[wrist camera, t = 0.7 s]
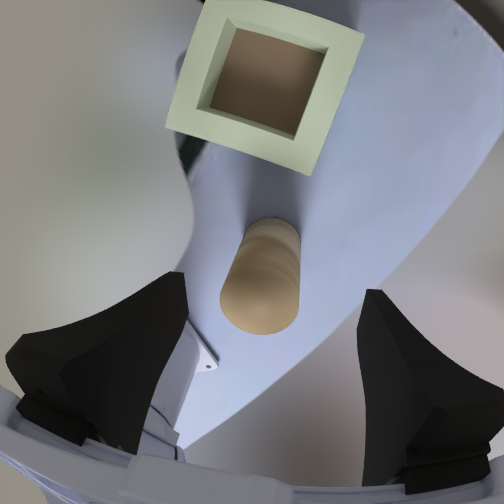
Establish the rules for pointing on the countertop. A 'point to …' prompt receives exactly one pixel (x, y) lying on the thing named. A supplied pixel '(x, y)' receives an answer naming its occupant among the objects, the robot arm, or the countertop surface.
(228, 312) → the peg
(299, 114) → the socket
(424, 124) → the countertop surface
